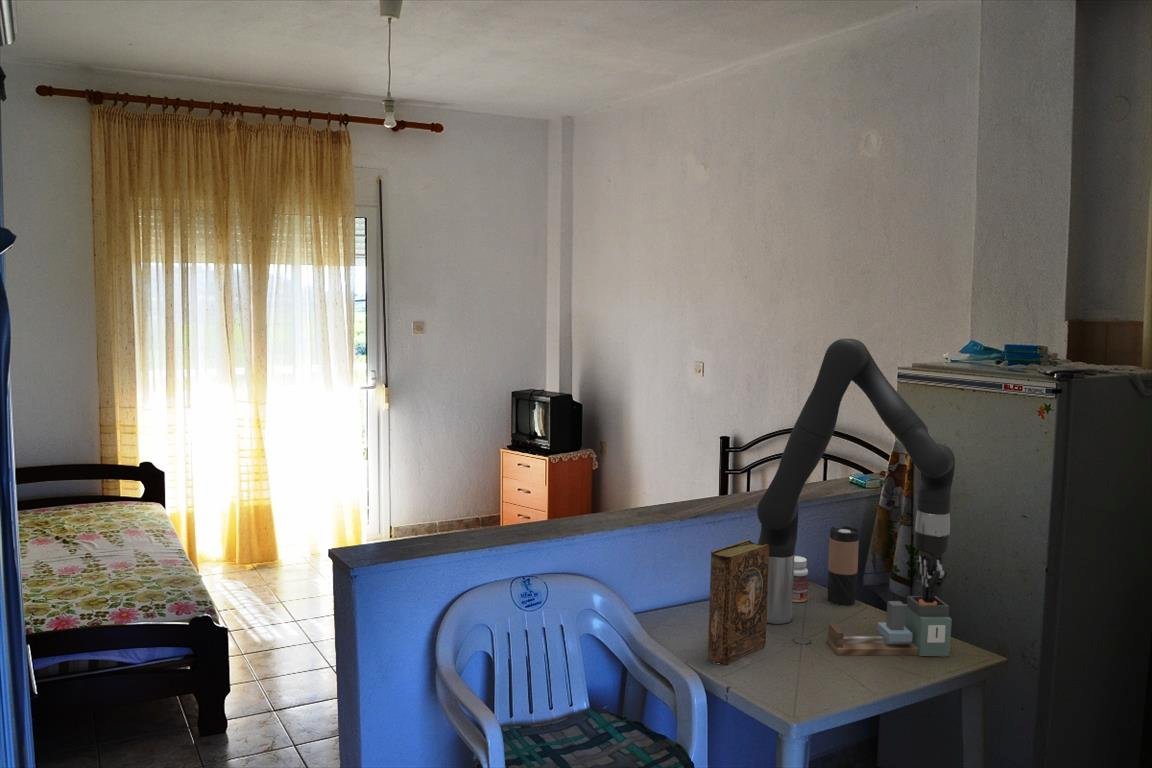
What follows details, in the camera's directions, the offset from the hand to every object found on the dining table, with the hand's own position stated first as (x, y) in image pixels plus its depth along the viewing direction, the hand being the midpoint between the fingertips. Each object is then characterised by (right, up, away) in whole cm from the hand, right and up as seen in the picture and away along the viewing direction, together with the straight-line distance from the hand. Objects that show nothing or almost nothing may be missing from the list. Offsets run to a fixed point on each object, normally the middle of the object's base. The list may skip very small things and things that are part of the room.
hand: (928, 601), depth 214 cm
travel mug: (-11, -8, +32) cm, 35 cm away
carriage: (-8, -9, +1) cm, 12 cm away
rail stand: (-13, -11, 0) cm, 17 cm away
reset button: (0, -2, 0) cm, 2 cm away
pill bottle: (-23, -8, +34) cm, 42 cm away
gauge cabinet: (0, -11, +1) cm, 11 cm away
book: (-46, -11, -3) cm, 48 cm away
